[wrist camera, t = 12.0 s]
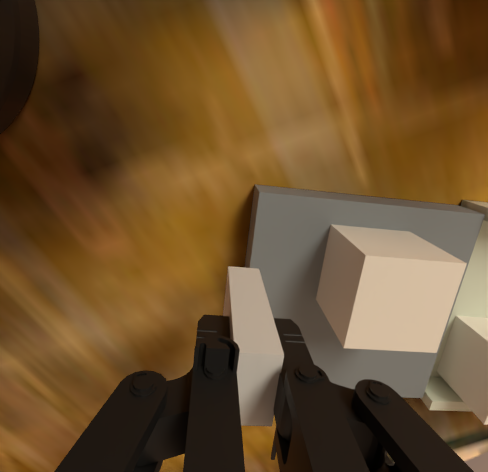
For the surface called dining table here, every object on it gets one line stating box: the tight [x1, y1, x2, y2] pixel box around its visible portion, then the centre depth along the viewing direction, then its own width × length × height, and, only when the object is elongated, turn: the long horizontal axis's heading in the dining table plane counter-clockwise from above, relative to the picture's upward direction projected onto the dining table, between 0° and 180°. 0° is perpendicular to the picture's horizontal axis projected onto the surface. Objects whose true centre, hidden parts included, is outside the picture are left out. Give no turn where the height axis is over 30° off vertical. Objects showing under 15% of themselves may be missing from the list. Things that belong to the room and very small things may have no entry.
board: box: [244, 185, 485, 398], centre depth 23 cm, size 14×14×2 cm
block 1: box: [316, 224, 467, 353], centre depth 19 cm, size 5×5×5 cm
